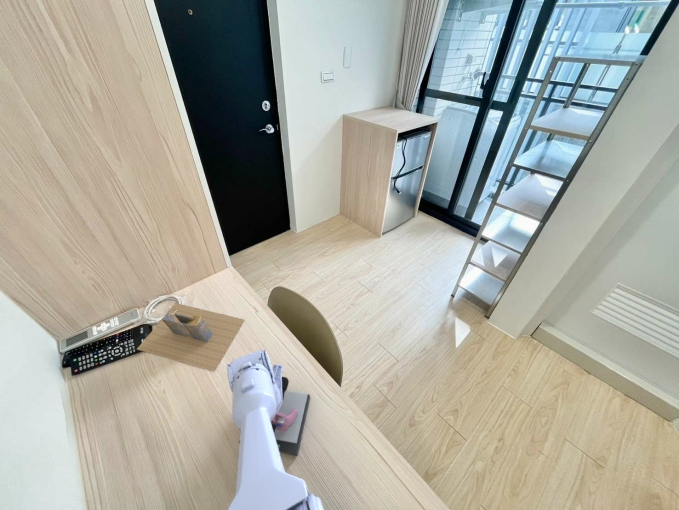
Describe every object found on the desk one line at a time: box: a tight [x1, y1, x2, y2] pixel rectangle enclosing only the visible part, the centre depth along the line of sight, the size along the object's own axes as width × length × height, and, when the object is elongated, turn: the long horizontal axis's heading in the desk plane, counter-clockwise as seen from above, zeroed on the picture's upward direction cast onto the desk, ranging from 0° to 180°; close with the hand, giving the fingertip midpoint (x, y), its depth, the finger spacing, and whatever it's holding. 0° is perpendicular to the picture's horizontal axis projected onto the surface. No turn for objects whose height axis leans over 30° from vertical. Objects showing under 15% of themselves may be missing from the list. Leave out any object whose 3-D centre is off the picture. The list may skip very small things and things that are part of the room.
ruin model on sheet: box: [136, 302, 246, 372], centre depth 76 cm, size 25×16×10 cm, turn 76°
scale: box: [238, 390, 311, 457], centre depth 63 cm, size 12×13×3 cm
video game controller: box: [271, 408, 298, 431], centre depth 59 cm, size 10×5×7 cm
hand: (274, 413), depth 60 cm, fingers closed on video game controller, 6 cm apart
